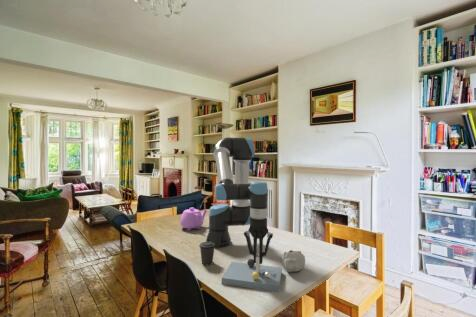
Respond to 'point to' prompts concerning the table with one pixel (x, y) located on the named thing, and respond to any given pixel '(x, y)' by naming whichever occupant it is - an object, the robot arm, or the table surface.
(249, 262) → the black ball
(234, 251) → the table surface
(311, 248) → the table surface
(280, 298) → the table surface
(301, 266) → the candle
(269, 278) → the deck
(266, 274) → the steel ball
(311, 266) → the table surface
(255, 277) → the mustard ball
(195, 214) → the teapot
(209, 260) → the coffee cup
